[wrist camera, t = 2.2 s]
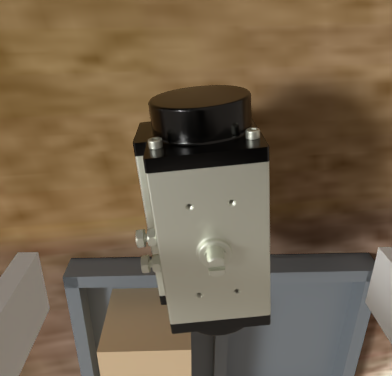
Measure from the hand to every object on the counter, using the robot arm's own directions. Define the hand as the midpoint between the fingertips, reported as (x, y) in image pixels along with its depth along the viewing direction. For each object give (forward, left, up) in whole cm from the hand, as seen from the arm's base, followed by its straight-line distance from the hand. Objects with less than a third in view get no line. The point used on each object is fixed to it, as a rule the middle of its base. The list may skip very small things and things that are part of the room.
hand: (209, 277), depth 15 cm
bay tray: (+16, +2, -12) cm, 20 cm away
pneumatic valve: (0, 0, -12) cm, 12 cm away
